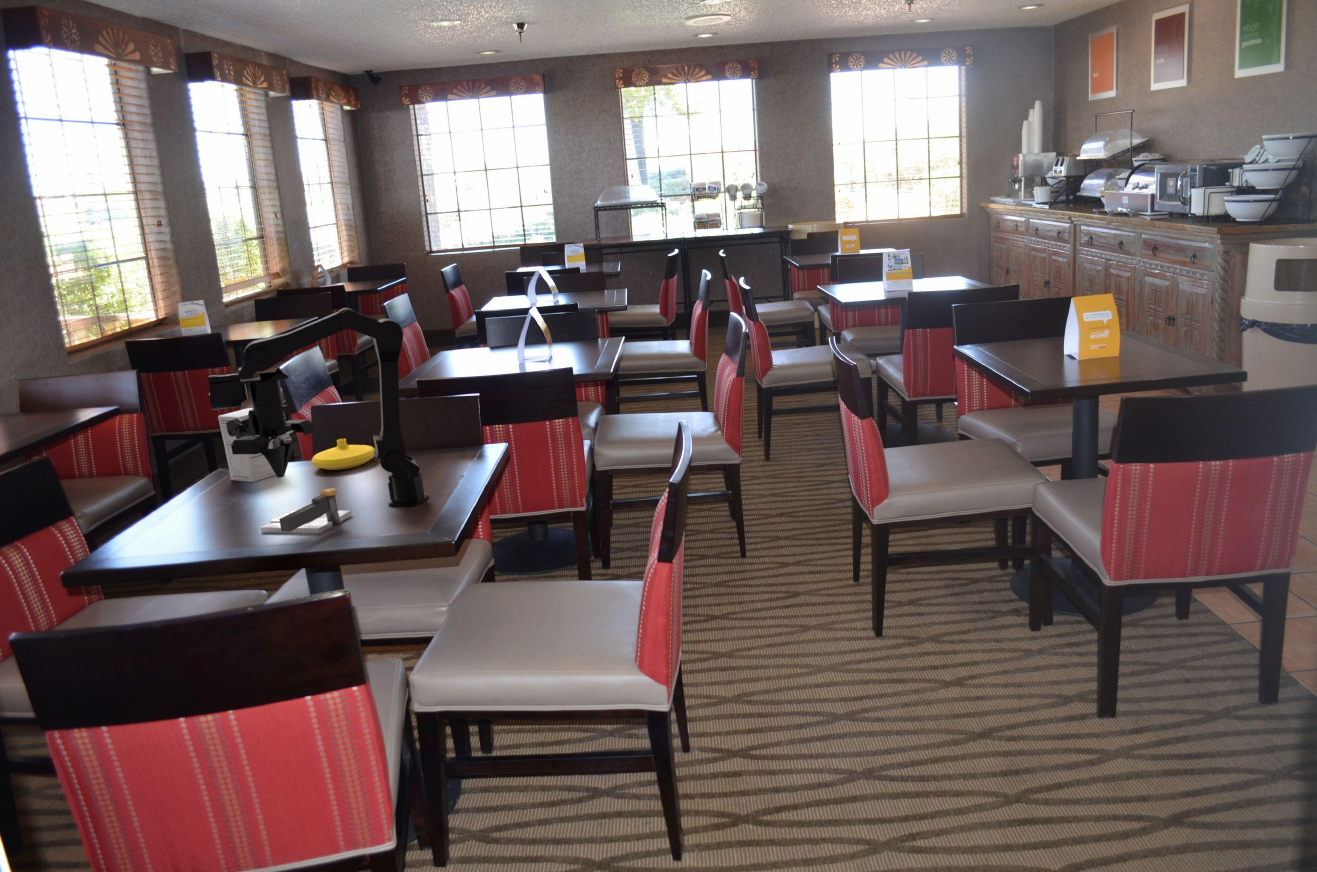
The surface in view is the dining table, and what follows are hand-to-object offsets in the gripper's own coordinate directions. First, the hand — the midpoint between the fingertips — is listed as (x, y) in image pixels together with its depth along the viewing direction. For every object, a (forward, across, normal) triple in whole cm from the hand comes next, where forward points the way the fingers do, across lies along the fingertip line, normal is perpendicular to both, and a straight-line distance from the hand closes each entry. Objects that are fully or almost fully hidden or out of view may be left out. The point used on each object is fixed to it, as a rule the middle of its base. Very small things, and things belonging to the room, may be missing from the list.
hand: (280, 477), depth 196 cm
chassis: (+10, 0, +4) cm, 11 cm away
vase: (+10, -44, -16) cm, 48 cm away
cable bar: (+7, +6, +10) cm, 14 cm away
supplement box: (+11, -36, -36) cm, 52 cm away
